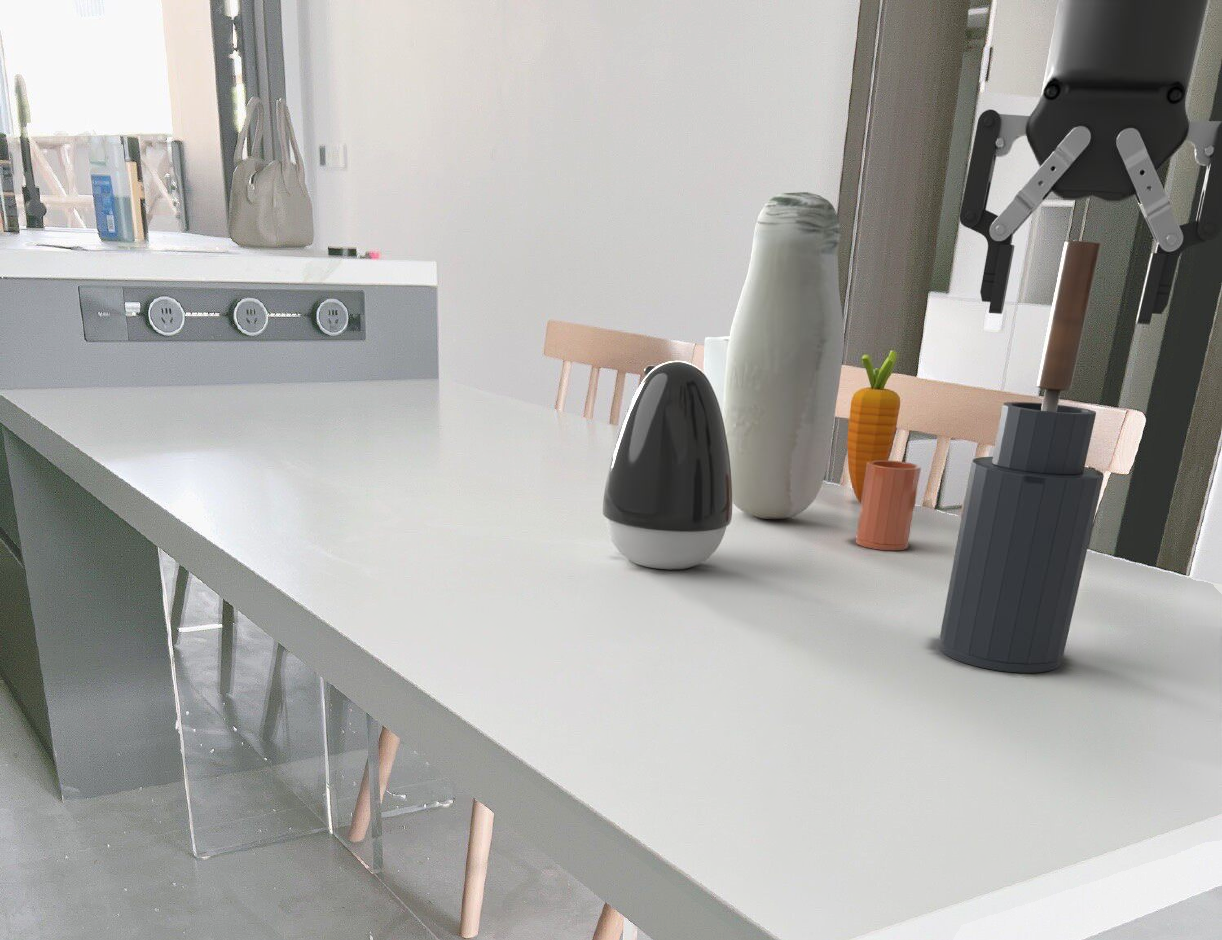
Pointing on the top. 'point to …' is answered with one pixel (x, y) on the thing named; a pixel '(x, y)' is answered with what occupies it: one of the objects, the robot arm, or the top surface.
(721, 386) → the cosmetic box
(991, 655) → the steel bottle
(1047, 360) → the bottle brush
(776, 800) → the top surface
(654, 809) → the top surface
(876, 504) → the cup
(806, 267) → the pale grey bottle
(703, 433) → the dark egg shaped ornament
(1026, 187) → the robot arm
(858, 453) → the carrot
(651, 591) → the top surface
